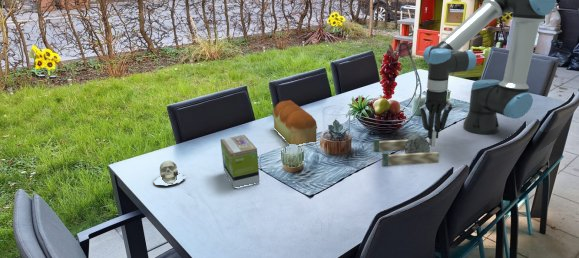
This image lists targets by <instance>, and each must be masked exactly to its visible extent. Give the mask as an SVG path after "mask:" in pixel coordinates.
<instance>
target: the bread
mask: <svg viewBox="0 0 579 258" xmlns="http://www.w3.org/2000/svg"><path fill="white" fill-rule="evenodd" d="M272 117H273V128H275V129H276V130H277V131H278V132H279V133H280V134H281V135H282V136H283V137H284V138H285V140H286V141H287V142H288V143H289V144H296V145H299V144H303V143H309V142H316V141H317V142H318V140H317V129H318V124H317V121H316V119H315V118H314V117H313V116H312V115H311V114H310V113H309V112H307V111H306V110H305V109H303V108H302V107H301V106H299V105H298V104H296V103H295V102H294V101H292V100H291V99H289V100H282V101H279V102H278V104H276V105H275V106H274V108H273V111H272ZM285 140H284V141H285ZM286 141H285V142H286ZM287 142H286V143H287ZM288 143H287V144H288ZM289 144H288V145H289Z"/></svg>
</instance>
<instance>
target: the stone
mask: <svg viewBox="0 0 579 258" xmlns="http://www.w3.org/2000/svg"><path fill="white" fill-rule="evenodd" d="M407 140H408V141H407V142H406V144H405V150H404V154H408V153H425V152H431V146H430V145H429V140H427V139H426V137H425V136H422V135H421V134H418V133H414V134H412V135H411V136H410V137H409V138H408V139H407Z"/></svg>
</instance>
